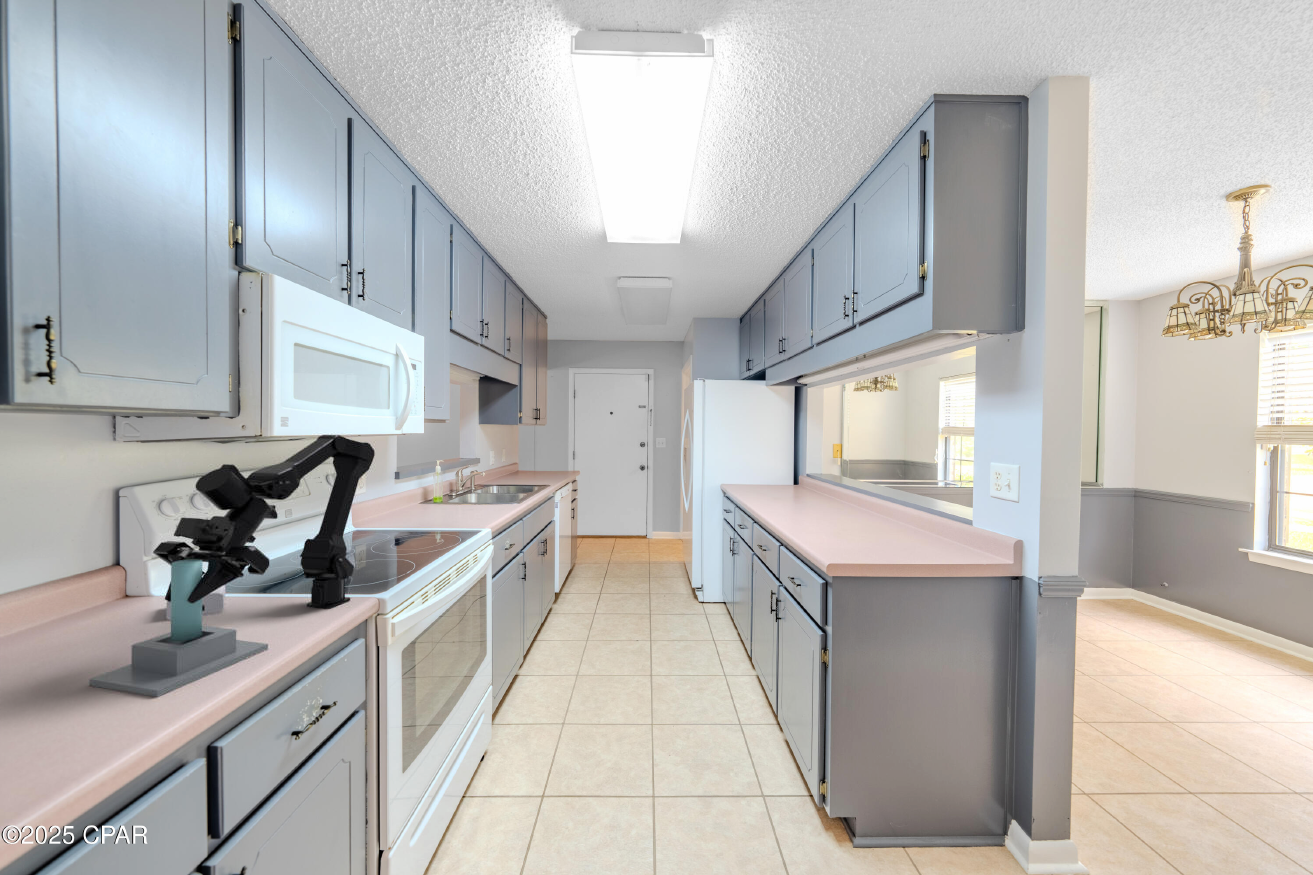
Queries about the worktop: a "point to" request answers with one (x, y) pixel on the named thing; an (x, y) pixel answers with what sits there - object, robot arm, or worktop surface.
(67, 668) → the worktop surface
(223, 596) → the charger
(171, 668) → the socket holder
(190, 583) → the peg
